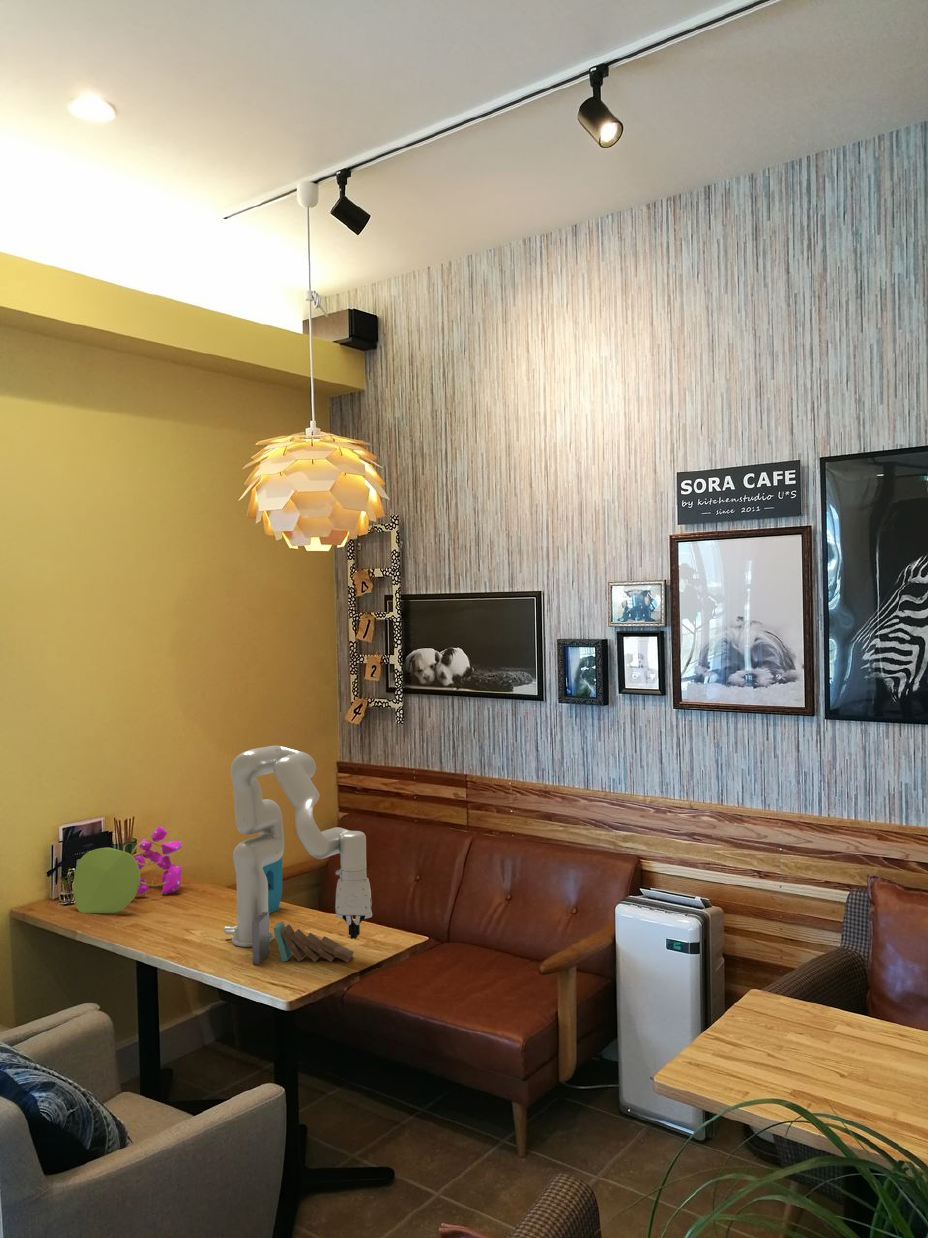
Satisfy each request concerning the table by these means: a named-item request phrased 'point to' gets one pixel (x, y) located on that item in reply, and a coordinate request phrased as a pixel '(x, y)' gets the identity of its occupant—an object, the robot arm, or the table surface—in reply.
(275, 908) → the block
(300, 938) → the walnut tile
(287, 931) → the walnut tile
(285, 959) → the teal tile
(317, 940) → the walnut tile
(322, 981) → the table surface
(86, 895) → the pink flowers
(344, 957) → the walnut tile
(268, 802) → the robot arm
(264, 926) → the bookend
